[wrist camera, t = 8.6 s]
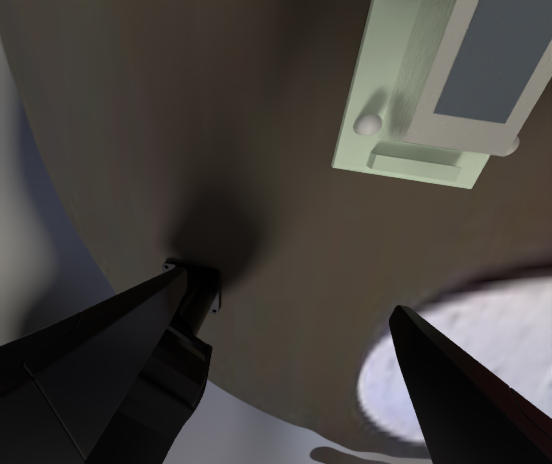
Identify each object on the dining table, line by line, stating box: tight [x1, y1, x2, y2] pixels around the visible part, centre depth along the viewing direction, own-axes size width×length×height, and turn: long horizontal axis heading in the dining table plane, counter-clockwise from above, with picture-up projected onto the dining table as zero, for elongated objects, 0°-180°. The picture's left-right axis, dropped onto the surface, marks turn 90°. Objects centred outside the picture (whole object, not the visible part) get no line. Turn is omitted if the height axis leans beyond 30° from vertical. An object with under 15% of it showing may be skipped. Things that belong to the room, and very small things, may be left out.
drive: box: [377, 0, 552, 157], centre depth 12 cm, size 9×6×5 cm, turn 172°
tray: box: [331, 0, 519, 189], centre depth 13 cm, size 14×11×4 cm
